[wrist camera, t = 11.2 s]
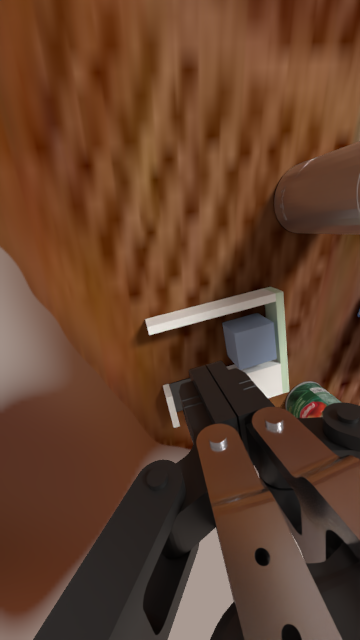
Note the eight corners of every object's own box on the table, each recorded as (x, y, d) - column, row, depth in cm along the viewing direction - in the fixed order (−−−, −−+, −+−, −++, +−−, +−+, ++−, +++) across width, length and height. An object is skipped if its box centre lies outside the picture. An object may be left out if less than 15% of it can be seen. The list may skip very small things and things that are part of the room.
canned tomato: (323, 409, 52) (372, 452, 42) (286, 422, 51) (328, 470, 41) (321, 375, 49) (374, 413, 39) (283, 388, 48) (326, 431, 38)
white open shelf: (270, 286, 41) (283, 291, 38) (277, 380, 47) (289, 391, 44) (145, 319, 39) (147, 327, 35) (170, 413, 45) (173, 428, 41)
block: (257, 312, 42) (273, 322, 38) (260, 345, 44) (276, 358, 40) (221, 322, 41) (234, 333, 37) (227, 355, 44) (239, 370, 39)
